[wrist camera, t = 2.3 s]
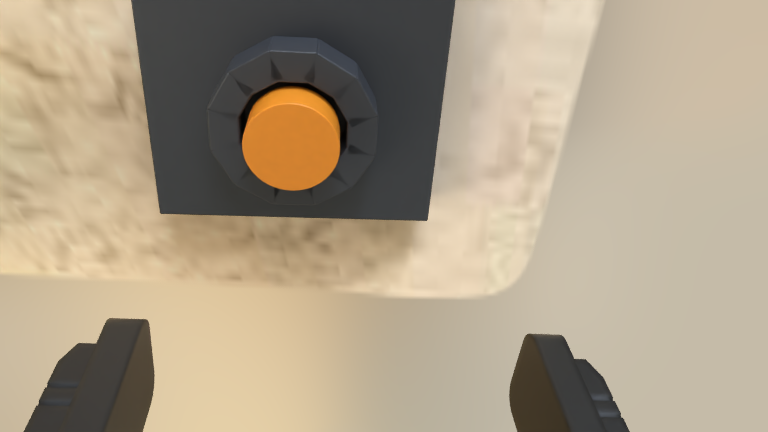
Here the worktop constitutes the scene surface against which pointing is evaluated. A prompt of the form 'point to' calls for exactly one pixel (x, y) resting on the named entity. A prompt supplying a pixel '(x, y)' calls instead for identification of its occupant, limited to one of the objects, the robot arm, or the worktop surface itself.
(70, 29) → the worktop surface
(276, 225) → the worktop surface
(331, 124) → the button
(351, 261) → the worktop surface
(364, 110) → the switchbox
